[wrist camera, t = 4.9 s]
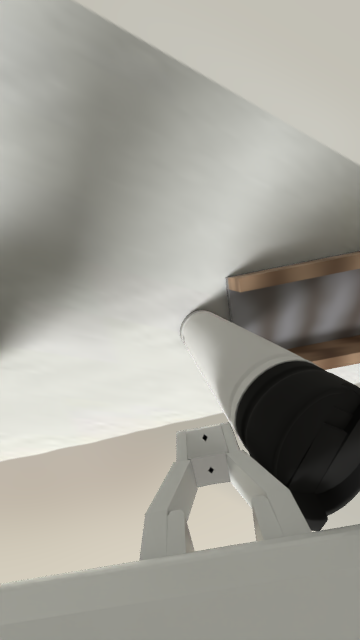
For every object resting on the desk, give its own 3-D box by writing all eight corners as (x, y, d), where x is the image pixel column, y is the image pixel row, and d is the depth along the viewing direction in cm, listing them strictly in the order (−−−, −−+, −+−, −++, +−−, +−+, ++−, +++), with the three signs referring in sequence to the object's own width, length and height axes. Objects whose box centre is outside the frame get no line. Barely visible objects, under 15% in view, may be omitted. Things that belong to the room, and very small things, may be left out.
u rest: (236, 364, 28) (249, 384, 23) (225, 277, 25) (238, 278, 20) (370, 338, 28) (414, 352, 23) (379, 246, 24) (433, 239, 19)
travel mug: (171, 342, 26) (243, 527, 6) (191, 302, 25) (341, 376, 6) (207, 357, 27) (349, 540, 8) (227, 320, 26) (436, 424, 7)
